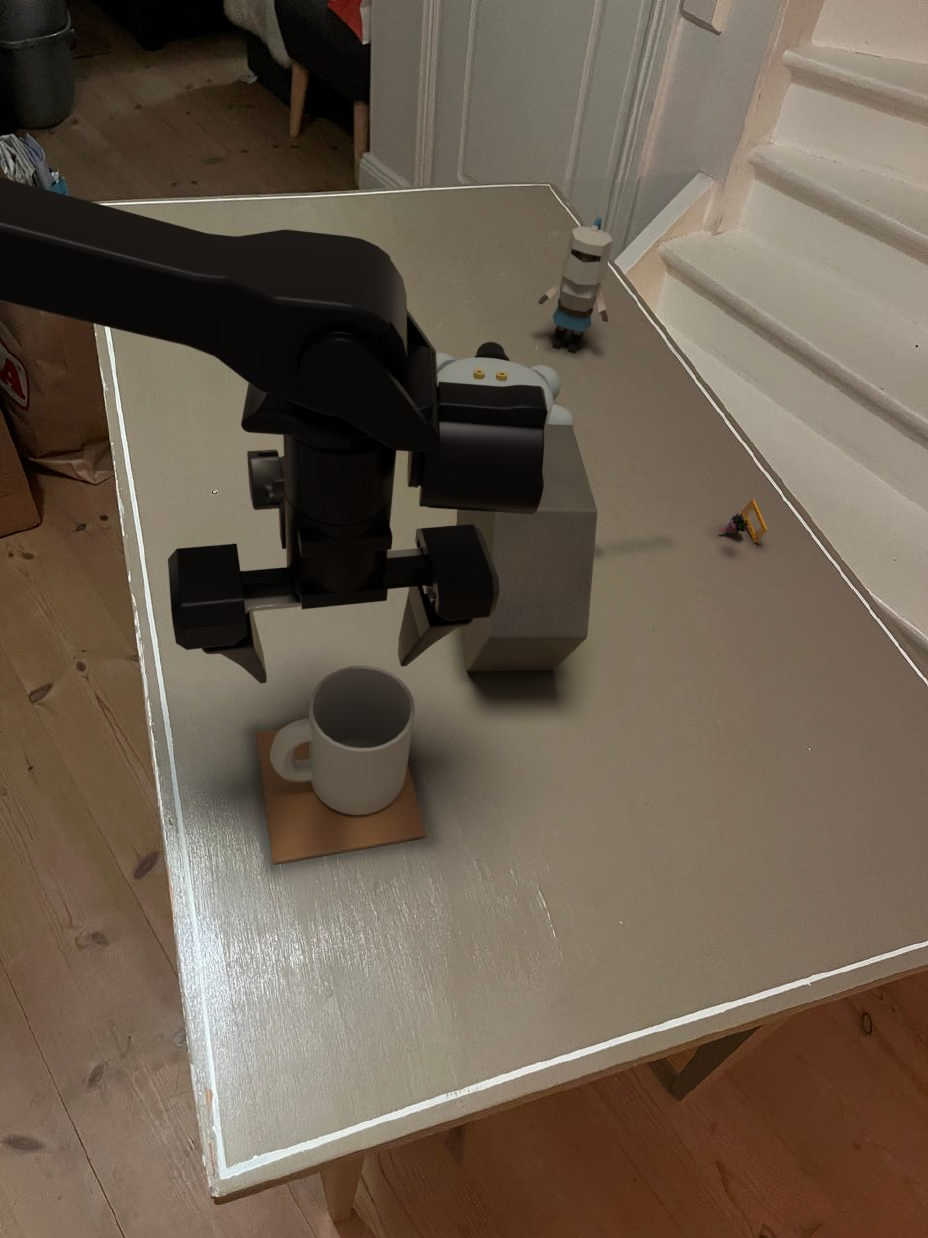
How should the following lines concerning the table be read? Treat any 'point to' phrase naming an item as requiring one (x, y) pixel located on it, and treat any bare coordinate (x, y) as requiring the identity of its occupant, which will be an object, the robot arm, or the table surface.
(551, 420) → the figurine
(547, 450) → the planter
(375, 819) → the coaster
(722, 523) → the table surface
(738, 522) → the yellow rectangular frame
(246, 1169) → the table surface
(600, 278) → the toy
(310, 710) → the cup
